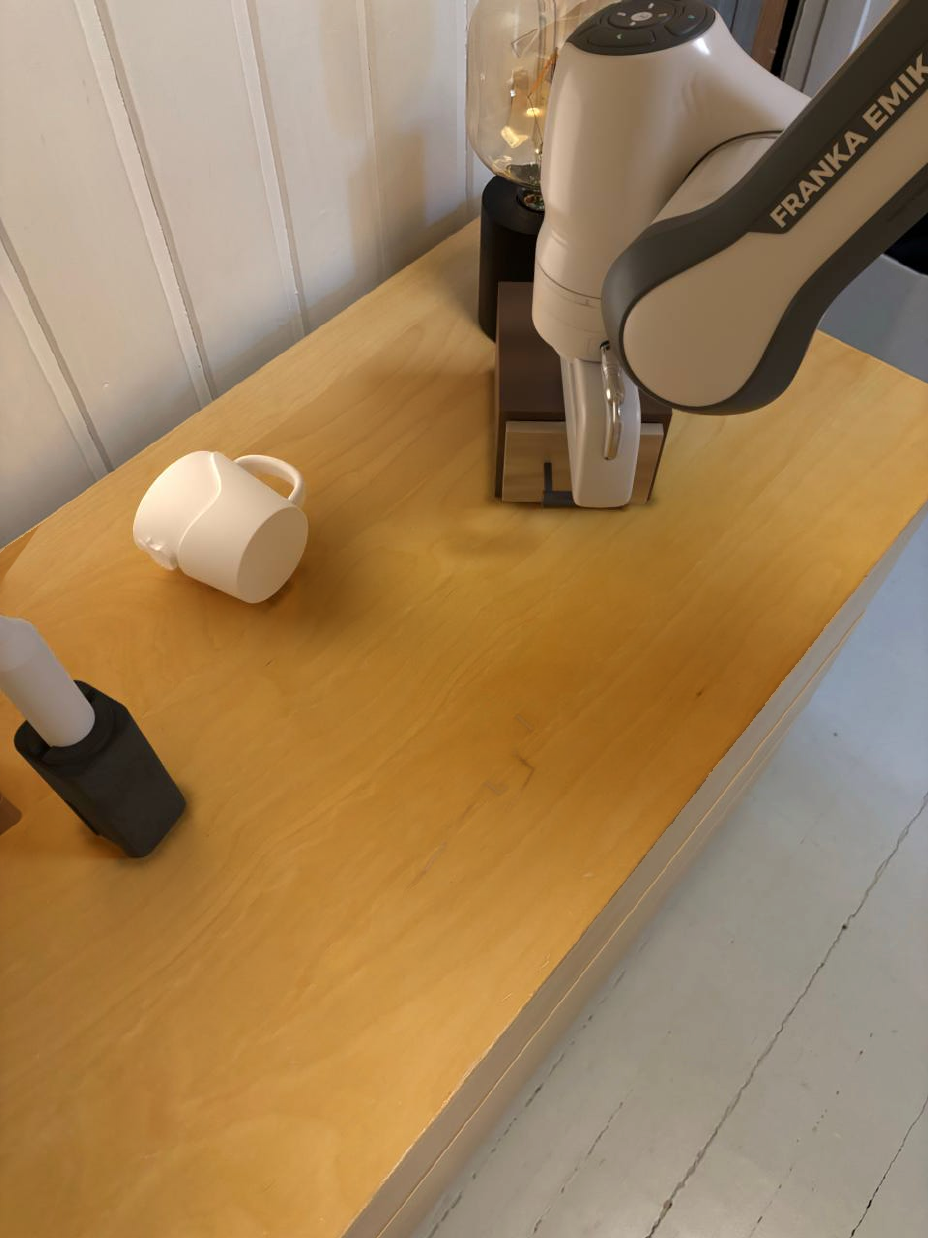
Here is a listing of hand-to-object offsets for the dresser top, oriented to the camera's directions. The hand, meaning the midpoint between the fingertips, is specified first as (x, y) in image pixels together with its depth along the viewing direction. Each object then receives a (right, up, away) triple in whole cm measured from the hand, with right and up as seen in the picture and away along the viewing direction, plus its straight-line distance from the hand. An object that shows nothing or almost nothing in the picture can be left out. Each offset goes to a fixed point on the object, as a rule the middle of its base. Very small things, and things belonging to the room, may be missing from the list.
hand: (582, 452), depth 70 cm
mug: (-26, -7, +5) cm, 27 cm away
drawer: (0, +1, +9) cm, 9 cm away
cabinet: (0, +4, +11) cm, 12 cm away
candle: (-30, -25, -7) cm, 40 cm away
